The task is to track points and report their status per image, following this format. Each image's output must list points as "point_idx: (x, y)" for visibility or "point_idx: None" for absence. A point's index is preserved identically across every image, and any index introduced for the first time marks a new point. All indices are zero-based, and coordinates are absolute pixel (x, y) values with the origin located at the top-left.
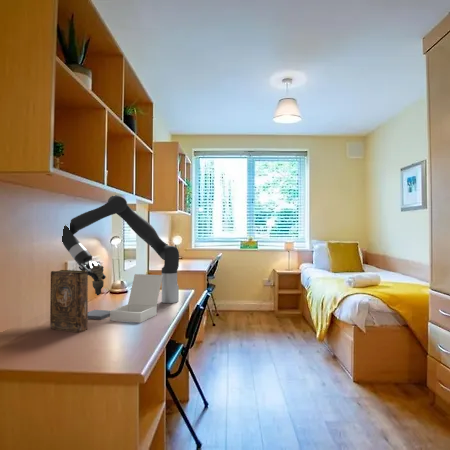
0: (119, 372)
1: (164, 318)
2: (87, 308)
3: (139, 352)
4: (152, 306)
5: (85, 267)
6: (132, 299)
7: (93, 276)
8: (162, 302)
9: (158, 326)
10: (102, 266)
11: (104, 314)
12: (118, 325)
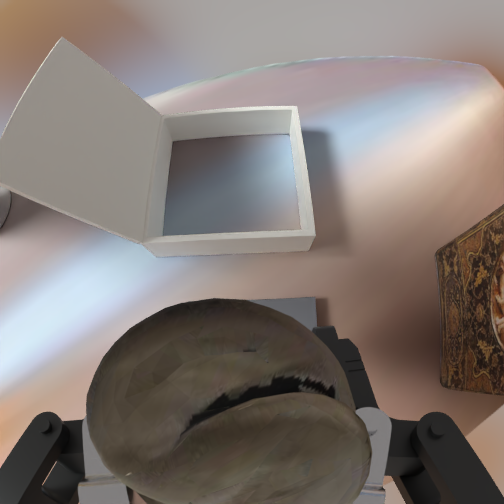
0: (500, 84)
1: (214, 97)
2: (483, 219)
3: (454, 74)
4: (162, 128)
5: (487, 501)
6: (126, 213)
7: (363, 383)
8: (1, 225)
9: (308, 79)
10: (124, 357)
11: (272, 308)
12: (356, 178)
